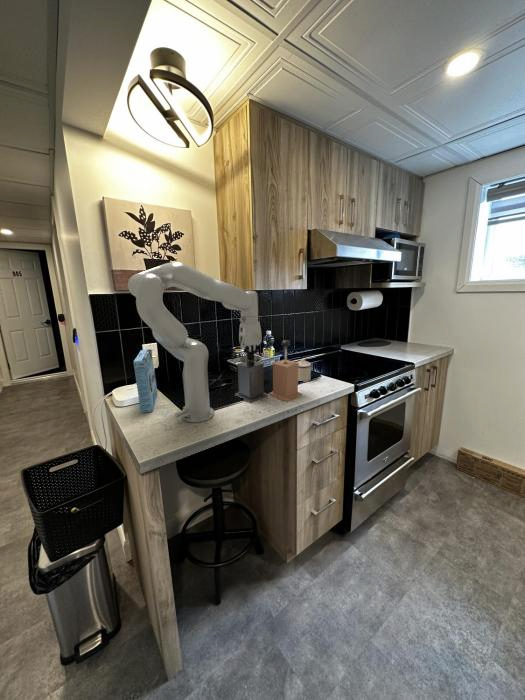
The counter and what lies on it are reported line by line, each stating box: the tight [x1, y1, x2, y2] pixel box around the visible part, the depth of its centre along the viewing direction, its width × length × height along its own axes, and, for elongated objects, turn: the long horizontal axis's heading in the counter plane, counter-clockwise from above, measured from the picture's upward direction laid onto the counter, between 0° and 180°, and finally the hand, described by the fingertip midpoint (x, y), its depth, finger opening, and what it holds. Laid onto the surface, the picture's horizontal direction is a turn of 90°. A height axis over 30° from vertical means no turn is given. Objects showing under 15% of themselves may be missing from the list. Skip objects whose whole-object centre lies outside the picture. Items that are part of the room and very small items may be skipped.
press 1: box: [234, 361, 269, 404], centre depth 128 cm, size 11×12×16 cm
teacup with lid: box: [296, 358, 312, 383], centre depth 150 cm, size 12×9×12 cm
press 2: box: [268, 359, 303, 403], centre depth 128 cm, size 11×12×16 cm
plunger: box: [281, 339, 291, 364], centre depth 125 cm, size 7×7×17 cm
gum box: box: [133, 348, 158, 414], centre depth 121 cm, size 20×5×23 cm, turn 15°
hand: (250, 359), depth 125 cm, fingers closed
